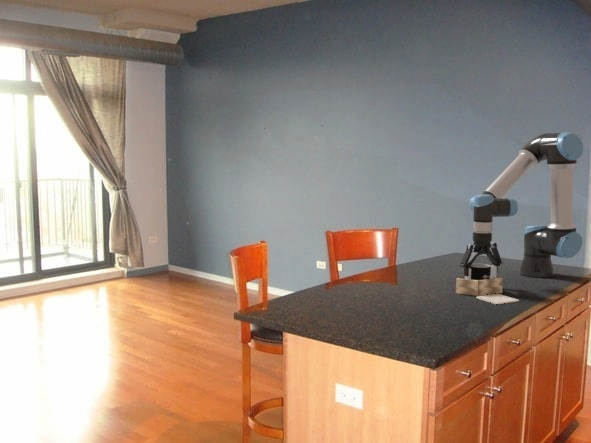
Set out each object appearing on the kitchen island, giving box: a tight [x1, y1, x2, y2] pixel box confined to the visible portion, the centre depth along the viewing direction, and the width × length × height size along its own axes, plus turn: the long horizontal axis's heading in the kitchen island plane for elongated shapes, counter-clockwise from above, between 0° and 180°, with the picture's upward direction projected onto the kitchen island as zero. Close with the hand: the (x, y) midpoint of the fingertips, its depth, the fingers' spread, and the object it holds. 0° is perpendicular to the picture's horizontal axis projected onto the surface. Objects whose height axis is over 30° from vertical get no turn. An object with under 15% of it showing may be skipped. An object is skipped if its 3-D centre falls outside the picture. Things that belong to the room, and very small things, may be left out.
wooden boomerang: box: [455, 277, 504, 297], centre depth 232 cm, size 18×8×6 cm, turn 114°
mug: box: [470, 262, 491, 280], centre depth 239 cm, size 12×9×10 cm
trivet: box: [476, 293, 520, 305], centre depth 221 cm, size 11×11×1 cm
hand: (480, 282), depth 239 cm, fingers open, 13 cm apart
